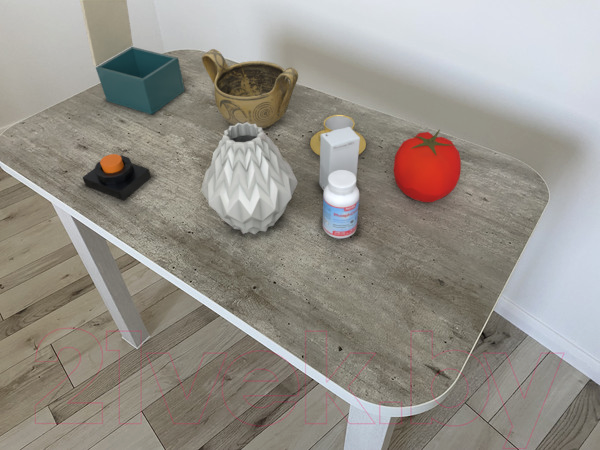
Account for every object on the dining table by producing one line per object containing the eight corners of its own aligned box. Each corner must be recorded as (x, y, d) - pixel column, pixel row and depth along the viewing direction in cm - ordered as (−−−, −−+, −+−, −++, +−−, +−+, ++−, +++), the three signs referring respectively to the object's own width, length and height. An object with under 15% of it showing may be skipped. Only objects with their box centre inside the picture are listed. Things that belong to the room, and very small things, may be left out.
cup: (343, 123, 110) (344, 102, 106) (377, 148, 103) (379, 126, 99) (299, 140, 105) (298, 119, 102) (331, 168, 98) (332, 146, 94)
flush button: (98, 170, 94) (95, 163, 92) (113, 159, 96) (110, 152, 95) (113, 176, 92) (111, 168, 91) (128, 164, 95) (125, 157, 93)
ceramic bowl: (194, 128, 110) (181, 66, 99) (234, 94, 121) (227, 34, 110) (279, 153, 102) (275, 88, 92) (314, 114, 113) (314, 53, 102)
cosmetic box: (328, 198, 92) (330, 146, 83) (319, 185, 94) (319, 133, 86) (356, 189, 93) (360, 137, 85) (346, 176, 96) (349, 125, 88)
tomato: (447, 169, 97) (459, 120, 89) (462, 215, 87) (476, 164, 79) (386, 170, 97) (392, 120, 89) (394, 215, 88) (402, 165, 80)
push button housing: (85, 186, 96) (78, 170, 93) (114, 164, 101) (108, 148, 98) (123, 201, 92) (117, 184, 90) (151, 177, 97) (146, 161, 95)
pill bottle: (335, 244, 83) (337, 195, 75) (316, 224, 87) (316, 175, 79) (363, 231, 85) (368, 181, 77) (343, 211, 89) (346, 162, 81)
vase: (233, 182, 96) (220, 99, 83) (310, 201, 91) (310, 115, 78) (191, 237, 85) (169, 151, 72) (277, 262, 80) (269, 174, 67)
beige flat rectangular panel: (124, -18, 109) (121, -19, 110) (82, 1, 102) (79, -1, 102) (132, 45, 121) (130, 44, 121) (96, 66, 113) (93, 65, 113)
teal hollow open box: (185, 90, 122) (178, 57, 116) (152, 114, 115) (143, 80, 108) (140, 78, 128) (132, 46, 121) (106, 101, 120) (95, 67, 114)
